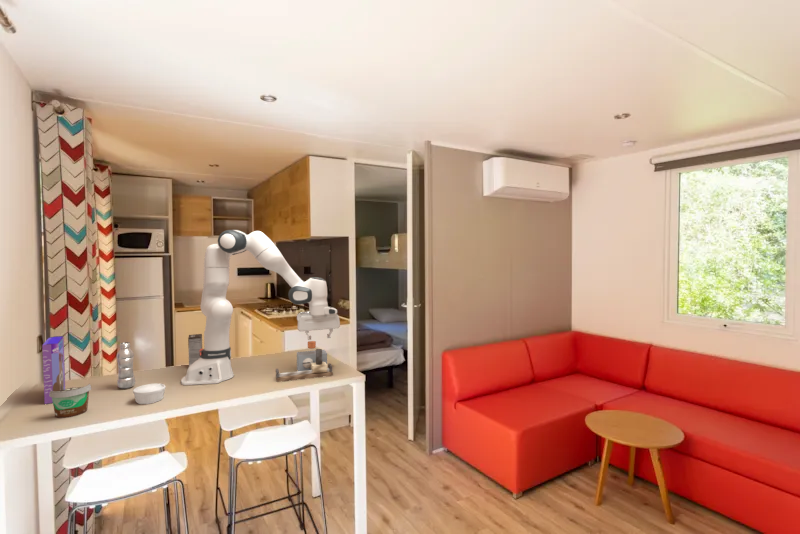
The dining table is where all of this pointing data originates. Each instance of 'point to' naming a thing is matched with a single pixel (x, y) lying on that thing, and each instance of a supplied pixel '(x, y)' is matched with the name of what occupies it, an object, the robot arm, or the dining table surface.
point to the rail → (302, 374)
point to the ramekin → (149, 393)
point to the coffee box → (194, 347)
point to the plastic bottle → (125, 366)
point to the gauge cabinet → (308, 359)
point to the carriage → (319, 363)
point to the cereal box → (53, 366)
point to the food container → (70, 401)
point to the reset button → (311, 344)
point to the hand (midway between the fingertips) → (319, 338)
